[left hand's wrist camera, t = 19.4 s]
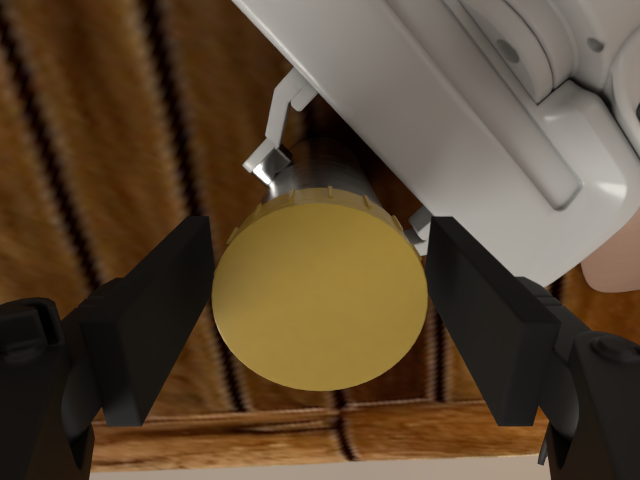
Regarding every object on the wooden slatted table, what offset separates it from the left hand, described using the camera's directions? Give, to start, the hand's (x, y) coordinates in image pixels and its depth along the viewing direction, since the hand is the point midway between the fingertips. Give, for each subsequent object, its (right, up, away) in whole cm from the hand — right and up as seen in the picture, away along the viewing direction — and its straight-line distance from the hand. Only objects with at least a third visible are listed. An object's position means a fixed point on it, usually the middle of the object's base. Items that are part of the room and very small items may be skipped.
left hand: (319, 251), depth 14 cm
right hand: (-1, +1, +5) cm, 5 cm away
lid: (0, -1, -3) cm, 3 cm away
